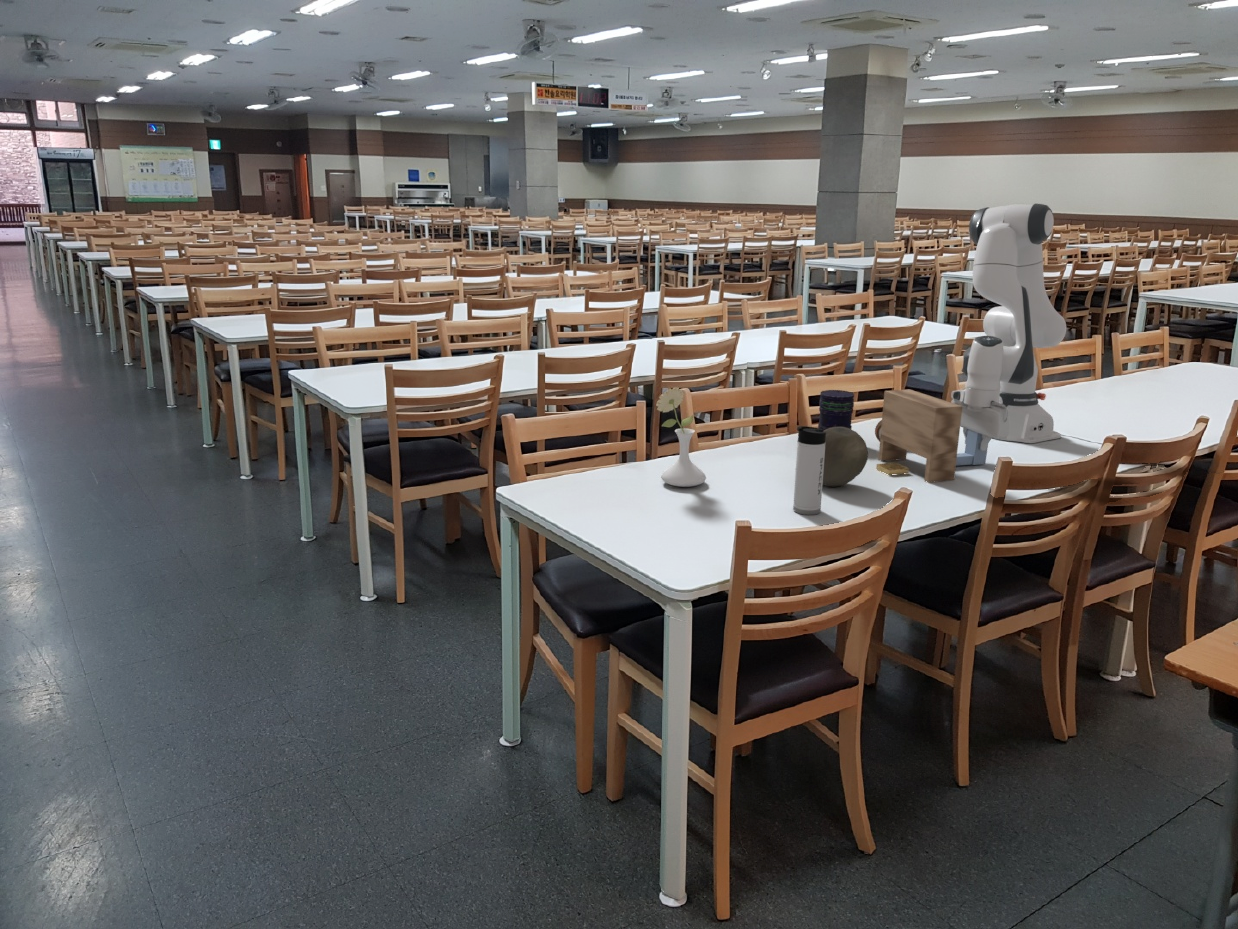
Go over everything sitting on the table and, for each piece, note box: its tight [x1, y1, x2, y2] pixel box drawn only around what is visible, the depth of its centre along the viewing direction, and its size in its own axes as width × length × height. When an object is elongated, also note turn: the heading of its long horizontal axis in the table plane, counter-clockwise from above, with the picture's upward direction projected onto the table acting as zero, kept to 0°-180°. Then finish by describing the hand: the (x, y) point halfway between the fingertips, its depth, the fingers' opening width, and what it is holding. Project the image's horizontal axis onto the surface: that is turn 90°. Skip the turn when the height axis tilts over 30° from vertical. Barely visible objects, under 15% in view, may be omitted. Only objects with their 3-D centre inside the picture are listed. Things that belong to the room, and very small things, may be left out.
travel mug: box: [792, 425, 826, 516], centre depth 212 cm, size 6×7×20 cm
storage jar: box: [817, 389, 855, 431], centre depth 272 cm, size 10×10×15 cm
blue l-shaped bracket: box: [956, 429, 989, 466], centre depth 251 cm, size 16×4×10 cm, turn 109°
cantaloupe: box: [822, 427, 869, 488], centre depth 232 cm, size 14×14×15 cm
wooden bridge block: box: [877, 389, 962, 483], centre depth 245 cm, size 8×22×20 cm, turn 19°
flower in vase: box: [655, 386, 707, 488], centre depth 230 cm, size 13×11×25 cm
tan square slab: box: [875, 461, 910, 476], centre depth 246 cm, size 6×6×2 cm
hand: (975, 447), depth 253 cm, fingers closed on blue l-shaped bracket, 4 cm apart
